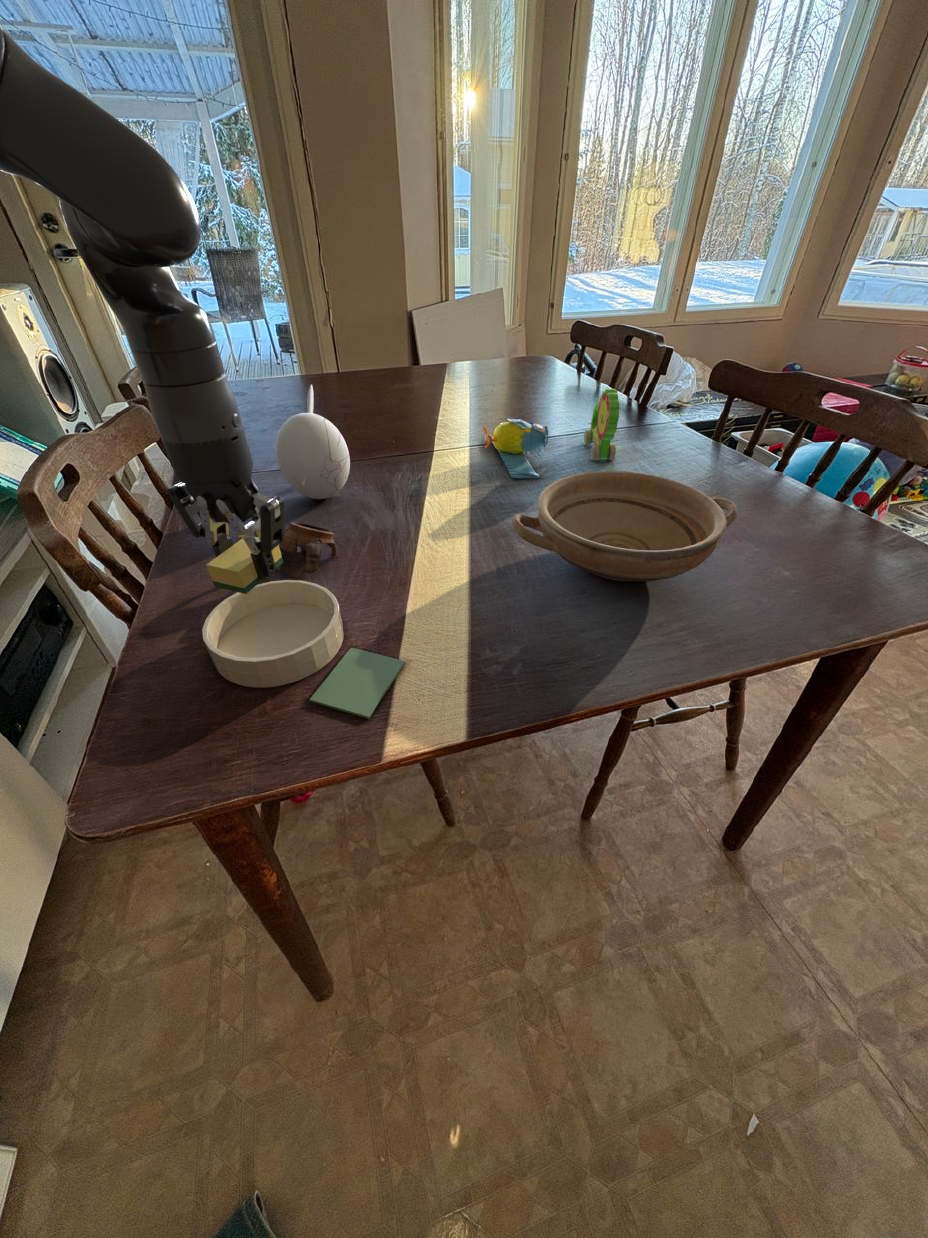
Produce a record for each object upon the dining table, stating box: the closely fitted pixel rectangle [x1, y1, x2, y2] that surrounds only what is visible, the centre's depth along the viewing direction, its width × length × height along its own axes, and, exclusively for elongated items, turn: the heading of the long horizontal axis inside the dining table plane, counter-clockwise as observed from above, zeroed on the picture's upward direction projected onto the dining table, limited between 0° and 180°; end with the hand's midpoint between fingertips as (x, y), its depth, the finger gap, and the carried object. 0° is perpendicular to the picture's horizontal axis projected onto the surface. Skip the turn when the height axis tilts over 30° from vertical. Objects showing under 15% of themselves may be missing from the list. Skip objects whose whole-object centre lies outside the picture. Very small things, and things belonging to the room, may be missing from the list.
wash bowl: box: [201, 579, 344, 689], centre depth 69 cm, size 17×17×4 cm
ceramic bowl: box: [511, 470, 739, 582], centre depth 83 cm, size 37×29×10 cm
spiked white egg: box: [275, 383, 351, 500], centre depth 104 cm, size 19×14×25 cm
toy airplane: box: [481, 418, 550, 480], centre depth 121 cm, size 28×9×15 cm
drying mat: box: [309, 647, 406, 720], centre depth 64 cm, size 10×8×1 cm
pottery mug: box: [277, 521, 338, 579], centre depth 84 cm, size 12×9×8 cm
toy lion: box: [583, 388, 620, 461], centre depth 120 cm, size 16×5×15 cm, turn 0°
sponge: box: [205, 536, 283, 594], centre depth 60 cm, size 7×4×3 cm, turn 160°
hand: (249, 571), depth 60 cm, fingers closed on sponge, 4 cm apart
